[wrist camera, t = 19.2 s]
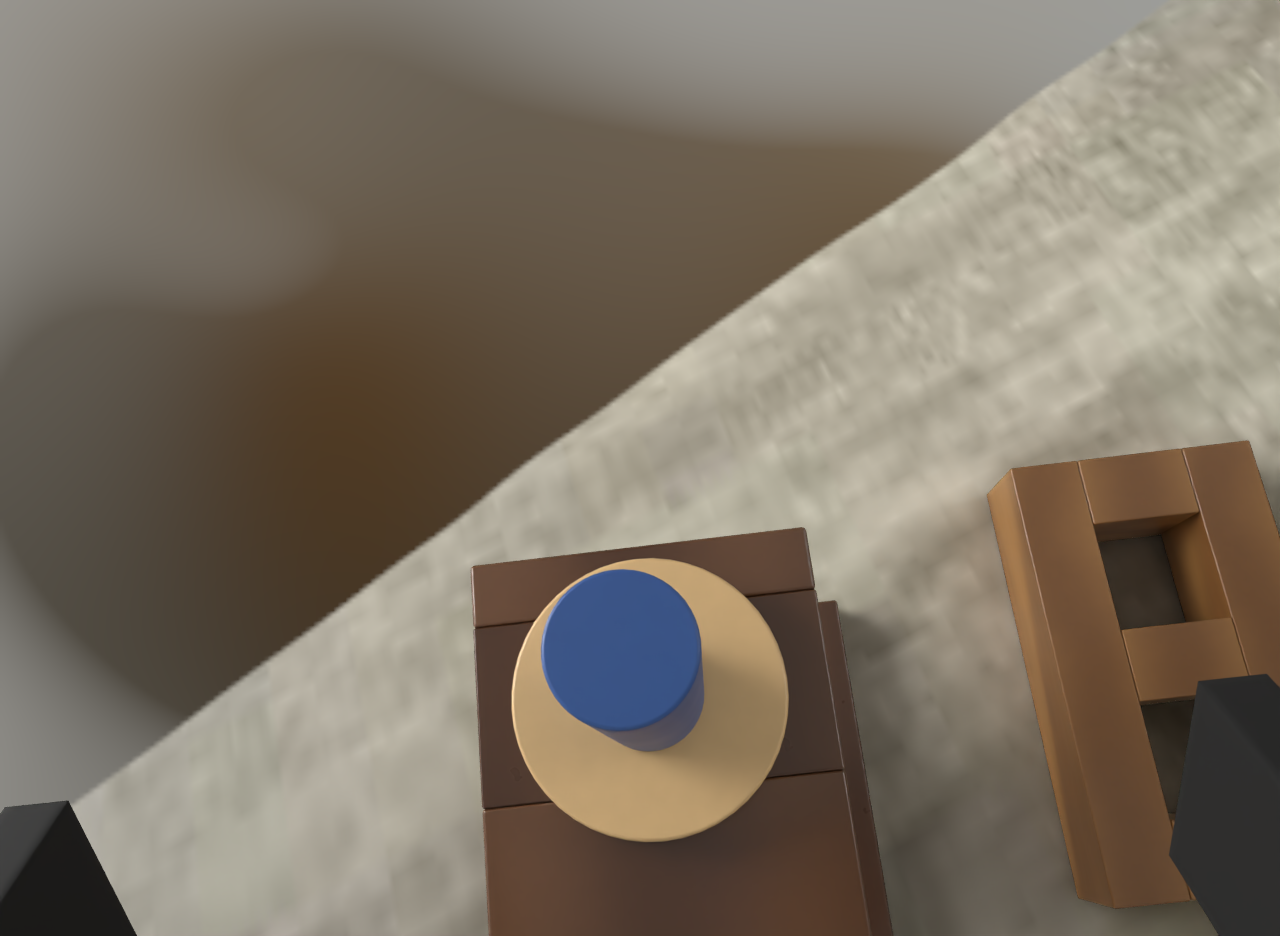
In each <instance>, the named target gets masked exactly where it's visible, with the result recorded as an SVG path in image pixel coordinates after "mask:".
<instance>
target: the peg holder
mask: <svg viewBox="0 0 1280 936" xmlns="http://www.w3.org/2000/svg"><path fill="white" fill-rule="evenodd" d="M987 498H988V502H989V506H990V511H991V515H992V520H993V524H994V529H995V533H996V537H997V542H998V546H999V551H1000V555H1001V559H1002V564H1003V568H1004V573H1005V577H1006V582H1007V586H1008V590H1009V595H1010V599H1011V604H1012V608H1013V613H1014V617H1015V621H1016V626H1017V630H1018V635H1019V639H1020V643H1021V648H1022V652H1023V657H1024V661H1025V666H1026V670H1027V674H1028V679H1029V683H1030V688H1031V692H1032V697H1033V701H1034V705H1035V710H1036V714H1037V719H1038V723H1039V727H1040V732H1041V736H1042V741H1043V745H1044V750H1045V754H1046V758H1047V763H1048V767H1049V772H1050V776H1051V781H1052V785H1053V789H1054V794H1055V798H1056V803H1057V807H1058V811H1059V816H1060V820H1061V825H1062V829H1063V834H1064V838H1065V842H1066V847H1067V851H1068V856H1069V860H1070V865H1071V869H1072V873H1073V878H1074V882H1075V887H1076V891H1077V895H1078V898H1079V899H1083V900H1086V901H1090V902H1093V903H1097V904H1100V905H1104V906H1108V907H1111V908H1115V909H1119V908H1129V907H1138V906H1148V905H1158V904H1167V903H1177V902H1186V901H1190V900H1193V901H1195V900H1197V899H1196V898H1195V896H1194V894H1193V893H1192V891H1191V890H1190V888H1189V886H1188V885H1187V883H1186V882H1185V880H1184V878H1183V877H1182V875H1181V874H1180V872H1179V870H1178V869H1177V867H1176V866H1175V864H1174V863H1173V861H1172V859H1171V858H1170V856H1169V851H1170V845H1171V839H1172V833H1173V827H1174V821H1175V815H1176V813H1170V814H1168V811H1167V807H1166V803H1165V799H1164V795H1163V792H1162V788H1161V784H1160V780H1159V776H1158V772H1157V768H1156V765H1155V761H1154V757H1153V753H1152V749H1151V745H1150V741H1149V738H1148V734H1147V730H1146V726H1145V722H1144V718H1143V715H1142V711H1141V707H1140V706H1141V705H1150V704H1159V703H1168V702H1177V701H1186V700H1195V696H1196V690H1197V684H1198V681H1202V680H1212V679H1221V678H1231V677H1240V676H1249V675H1259V674H1268V675H1269V676H1270V678H1271V679H1272V680H1273V681H1274V682H1275V683H1276V684H1277V685H1278V686H1279V687H1280V536H1279V532H1278V529H1277V526H1276V523H1275V520H1274V517H1273V514H1272V511H1271V507H1270V504H1269V501H1268V498H1267V495H1266V492H1265V489H1264V486H1263V483H1262V479H1261V476H1260V473H1259V470H1258V467H1257V464H1256V461H1255V458H1254V455H1253V451H1252V448H1251V445H1250V442H1249V441H1239V442H1231V443H1223V444H1214V445H1206V446H1197V447H1189V448H1182V449H1172V450H1164V451H1155V452H1147V453H1139V454H1130V455H1122V456H1113V457H1105V458H1097V459H1088V460H1080V461H1077V462H1076V461H1071V462H1063V463H1054V464H1046V465H1038V466H1029V467H1021V468H1012V469H1010V470H1009V471H1008V472H1007V473H1006V475H1005V476H1004V477H1003V478H1002V479H1001V480H1000V481H999V482H998V483H997V484H996V485H995V487H994V488H993V489H992V490H991V491H990V492H989V493H988V494H987ZM1160 534H1161V535H1162V539H1163V543H1164V546H1165V550H1166V553H1167V557H1168V560H1169V564H1170V567H1171V571H1172V574H1173V578H1174V582H1175V585H1176V589H1177V592H1178V596H1179V599H1180V603H1181V606H1182V610H1183V614H1184V617H1185V621H1186V623H1177V624H1168V625H1159V626H1150V627H1141V628H1133V629H1124V630H1120V626H1119V622H1118V618H1117V614H1116V611H1115V607H1114V603H1113V599H1112V595H1111V591H1110V587H1109V584H1108V580H1107V576H1106V572H1105V568H1104V564H1103V560H1102V557H1101V553H1100V549H1099V545H1098V542H1104V541H1112V540H1121V539H1129V538H1138V537H1147V536H1155V535H1160Z"/></svg>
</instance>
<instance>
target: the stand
mask: <svg viewBox="0 0 1280 936" xmlns="http://www.w3.org/2000/svg"><path fill="white" fill-rule="evenodd" d="M646 558H657V559H670V560H674V561H679V562H684V563H688V564H691V565H694V566H697V567H699V568H702V569H705V570H707V571H709V572H711V573H713V574H715V575H717V576H719V577H720V578H722V579H723V580H725V581H726V582H728V583H729V584H731V585H732V586H734V587H735V588H736V589H737V590H738V591H739V592H740V593H742V594H743V595H744V596H745V597H746V598H747V599H748V600H749V601H750V602H751V603H752V604H753V606H754V607H755V608H756V609H757V610H758V611H759V613H760V614H761V616H762V617H763V619H764V620H765V621H766V623H767V624H768V626H769V628H770V630H771V632H772V634H773V636H774V638H775V640H776V642H777V644H778V647H779V649H780V652H781V655H782V658H783V661H784V666H785V670H786V675H787V681H788V693H789V704H788V718H787V724H786V730H785V735H784V738H783V741H782V744H781V748H780V751H779V753H778V756H777V758H776V760H775V762H774V764H773V766H772V768H771V770H770V772H769V773H768V775H767V777H766V778H765V780H764V781H763V783H762V784H761V786H760V787H759V788H758V789H757V791H756V792H755V793H754V794H753V795H752V796H751V798H750V799H749V800H748V801H747V802H746V803H745V804H744V805H742V806H741V807H740V808H739V809H738V810H737V811H736V812H735V813H733V814H732V815H730V816H729V817H728V818H726V819H725V820H723V821H722V822H720V823H719V824H717V825H715V826H713V827H711V828H709V829H707V830H705V831H703V832H700V833H697V834H694V835H691V836H688V837H685V838H681V839H676V840H670V841H665V842H638V841H628V840H623V839H619V838H615V837H611V836H607V835H605V834H602V833H600V832H597V831H595V830H592V829H590V828H588V827H586V826H585V825H583V824H581V823H579V822H578V821H576V820H574V819H573V818H572V817H570V816H569V815H568V814H566V813H565V812H564V811H562V810H561V809H560V808H559V807H558V806H557V805H556V804H555V803H554V802H553V801H552V800H551V799H550V798H549V797H548V796H547V795H546V794H545V793H544V791H543V790H542V789H541V787H540V786H539V785H538V783H537V782H536V781H535V779H534V778H533V776H532V774H531V772H530V770H529V769H528V767H527V765H526V763H525V761H524V758H523V756H522V753H521V751H520V748H519V746H518V742H517V738H516V734H515V730H514V725H513V717H512V684H513V676H514V671H515V667H516V663H517V659H518V655H519V653H520V650H521V648H522V645H523V643H524V640H525V638H526V636H527V634H528V633H529V631H530V629H531V627H532V625H533V624H534V622H535V621H536V619H537V618H538V617H539V615H540V614H541V612H542V611H543V610H544V608H545V607H546V606H547V605H548V604H549V603H550V602H551V601H552V600H553V599H554V598H555V597H556V596H557V595H558V594H559V593H560V592H561V591H563V590H564V589H565V588H566V587H568V586H569V585H570V584H571V583H573V582H575V581H576V580H578V579H579V578H581V577H583V576H584V575H586V574H588V573H590V572H592V571H595V570H597V569H599V568H601V567H604V566H607V565H610V564H614V563H617V562H621V561H627V560H632V559H646ZM471 586H472V606H473V625H474V627H475V629H474V631H473V633H474V653H475V673H476V693H477V714H478V734H479V754H480V774H481V794H482V807H483V809H485V810H484V811H483V829H484V849H485V869H486V889H487V909H488V929H489V936H893V930H892V925H891V919H890V913H889V907H888V901H887V895H886V889H885V883H884V877H883V871H882V865H881V860H880V854H879V848H878V842H877V836H876V830H875V824H874V818H873V812H872V806H871V800H870V795H869V789H868V783H867V777H866V771H865V765H864V759H863V753H862V747H861V741H860V735H859V730H858V724H857V718H856V712H855V706H854V700H853V694H852V688H851V682H850V676H849V670H848V665H847V659H846V653H845V647H844V641H843V635H842V629H841V623H840V617H839V611H838V605H837V602H836V601H825V602H818V599H817V593H816V590H814V587H815V582H814V576H813V570H812V564H811V558H810V552H809V545H808V539H807V533H806V530H805V528H802V527H800V528H792V529H783V530H775V531H766V532H758V533H749V534H741V535H732V536H724V537H715V538H707V539H698V540H690V541H681V542H673V543H664V544H656V545H647V546H639V547H630V548H622V549H613V550H605V551H596V552H588V553H579V554H571V555H562V556H554V557H545V558H537V559H528V560H520V561H511V562H503V563H495V564H486V565H478V566H473V567H472V568H471Z"/></svg>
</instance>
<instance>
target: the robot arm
mask: <svg viewBox="0 0 1280 936" xmlns="http://www.w3.org/2000/svg"><path fill="white" fill-rule="evenodd" d="M1169 856H1170V858H1171V859H1172V861H1173V863H1174V864H1175V866H1176V867H1177V869H1178V870H1179V872H1180V874H1181V875H1182V877H1183V878H1184V880H1185V882H1186V883H1187V885H1188V886H1189V888H1190V890H1191V891H1192V893H1193V894H1194V896H1195V898H1196V899H1197V901H1198V902H1199V904H1200V906H1201V907H1202V909H1203V910H1204V912H1205V914H1206V915H1207V917H1208V918H1209V920H1210V922H1211V923H1212V925H1213V926H1214V928H1215V930H1216V931H1217V933H1218V934H1219V936H1280V687H1279V686H1278V685H1277V684H1276V683H1275V682H1274V681H1273V680H1272V679H1271V678H1270V676H1269V675H1268V674H1259V675H1249V676H1240V677H1231V678H1221V679H1212V680H1202V681H1198V684H1197V690H1196V696H1195V702H1194V708H1193V714H1192V720H1191V726H1190V732H1189V738H1188V744H1187V750H1186V756H1185V762H1184V768H1183V774H1182V780H1181V786H1180V792H1179V798H1178V804H1177V809H1176V815H1175V821H1174V827H1173V833H1172V839H1171V845H1170V851H1169ZM0 936H137V935H136V933H135V931H134V929H133V927H132V925H131V923H130V921H129V919H128V917H127V915H126V913H125V911H124V909H123V907H122V905H121V904H120V902H119V900H118V898H117V896H116V894H115V892H114V890H113V888H112V886H111V884H110V882H109V880H108V878H107V876H106V874H105V872H104V870H103V868H102V866H101V864H100V862H99V860H98V858H97V856H96V854H95V852H94V850H93V848H92V847H91V845H90V843H89V841H88V839H87V837H86V835H85V833H84V831H83V829H82V827H81V825H80V823H79V821H78V819H77V817H76V815H75V813H74V811H73V809H72V807H71V805H70V803H69V801H60V802H51V803H42V804H32V805H22V806H13V807H5V808H4V809H3V811H2V812H1V813H0Z"/></svg>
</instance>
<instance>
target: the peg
mask: <svg viewBox="0 0 1280 936" xmlns="http://www.w3.org/2000/svg"><path fill="white" fill-rule="evenodd" d="M788 704H789V693H788V681H787V675H786V670H785V666H784V661H783V658H782V655H781V652H780V649H779V647H778V644H777V642H776V640H775V638H774V636H773V634H772V632H771V630H770V628H769V626H768V624H767V623H766V621H765V620H764V619H763V617H762V616H761V614H760V613H759V611H758V610H757V609H756V608H755V607H754V606H753V604H752V603H751V602H750V601H749V600H748V599H747V598H746V597H745V596H744V595H743V594H742V593H740V592H739V591H738V590H737V589H736V588H735V587H734V586H732V585H731V584H729V583H728V582H726V581H725V580H723V579H722V578H720V577H719V576H717V575H715V574H713V573H711V572H709V571H707V570H705V569H702V568H699V567H697V566H694V565H691V564H688V563H684V562H679V561H674V560H670V559H657V558H646V559H632V560H627V561H621V562H617V563H614V564H610V565H607V566H604V567H601V568H599V569H597V570H595V571H592V572H590V573H588V574H586V575H584V576H583V577H581V578H579V579H578V580H576V581H575V582H573V583H571V584H570V585H569V586H568V587H566V588H565V589H564V590H563V591H561V592H560V593H559V594H558V595H557V596H556V597H555V598H554V599H553V600H552V601H551V602H550V603H549V604H548V605H547V606H546V607H545V608H544V610H543V611H542V612H541V614H540V615H539V617H538V618H537V619H536V621H535V622H534V624H533V625H532V627H531V629H530V631H529V633H528V634H527V636H526V638H525V640H524V643H523V645H522V648H521V650H520V653H519V655H518V659H517V663H516V667H515V671H514V676H513V684H512V717H513V725H514V730H515V734H516V738H517V742H518V746H519V748H520V751H521V753H522V756H523V758H524V761H525V763H526V765H527V767H528V769H529V770H530V772H531V774H532V776H533V778H534V779H535V781H536V782H537V783H538V785H539V786H540V787H541V789H542V790H543V791H544V793H545V794H546V795H547V796H548V797H549V798H550V799H551V800H552V801H553V802H554V803H555V804H556V805H557V806H558V807H559V808H560V809H561V810H562V811H564V812H565V813H566V814H568V815H569V816H570V817H572V818H573V819H574V820H576V821H578V822H579V823H581V824H583V825H585V826H586V827H588V828H590V829H592V830H595V831H597V832H600V833H602V834H605V835H607V836H611V837H615V838H619V839H623V840H628V841H638V842H665V841H670V840H676V839H681V838H685V837H688V836H691V835H694V834H697V833H700V832H703V831H705V830H707V829H709V828H711V827H713V826H715V825H717V824H719V823H720V822H722V821H723V820H725V819H726V818H728V817H729V816H730V815H732V814H733V813H735V812H736V811H737V810H738V809H739V808H740V807H741V806H742V805H744V804H745V803H746V802H747V801H748V800H749V799H750V798H751V796H752V795H753V794H754V793H755V792H756V791H757V789H758V788H759V787H760V786H761V784H762V783H763V781H764V780H765V778H766V777H767V775H768V773H769V772H770V770H771V768H772V766H773V764H774V762H775V760H776V758H777V756H778V753H779V751H780V748H781V744H782V741H783V738H784V735H785V730H786V724H787V718H788Z"/></svg>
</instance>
